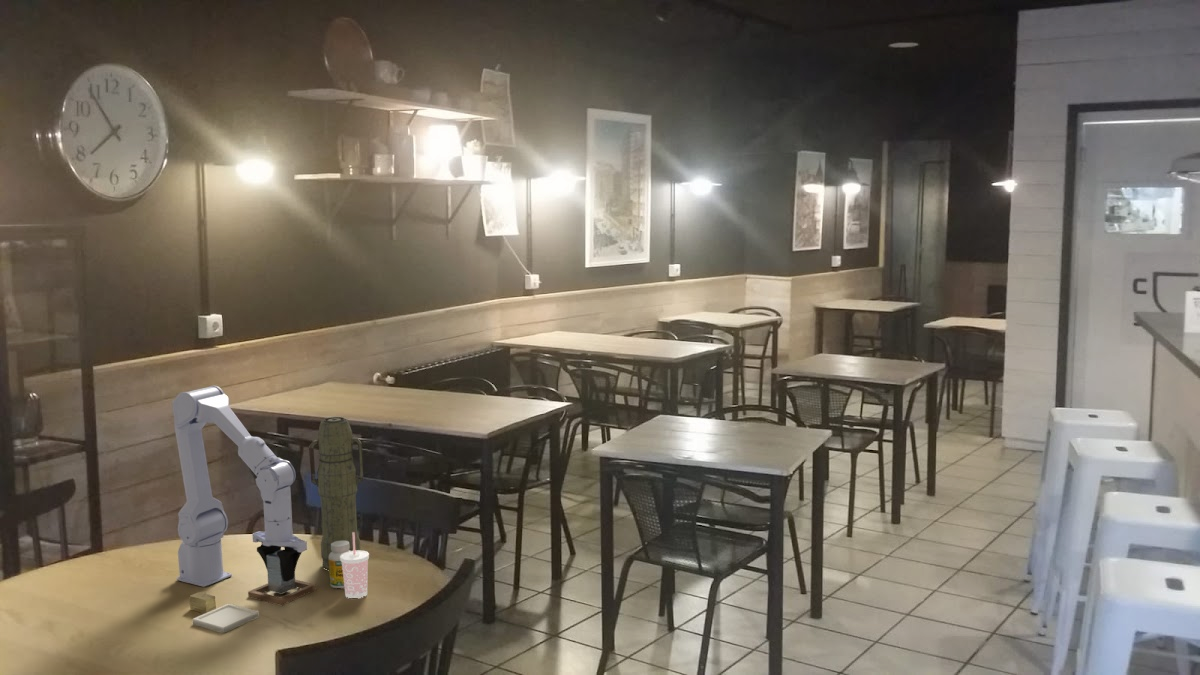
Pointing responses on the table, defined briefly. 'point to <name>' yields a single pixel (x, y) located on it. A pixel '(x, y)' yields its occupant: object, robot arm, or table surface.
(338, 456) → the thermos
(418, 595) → the table surface
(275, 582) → the brushed metal block
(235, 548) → the table surface
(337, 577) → the supplement bottle
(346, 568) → the beverage cup
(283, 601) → the socket
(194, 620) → the tray
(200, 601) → the bar
